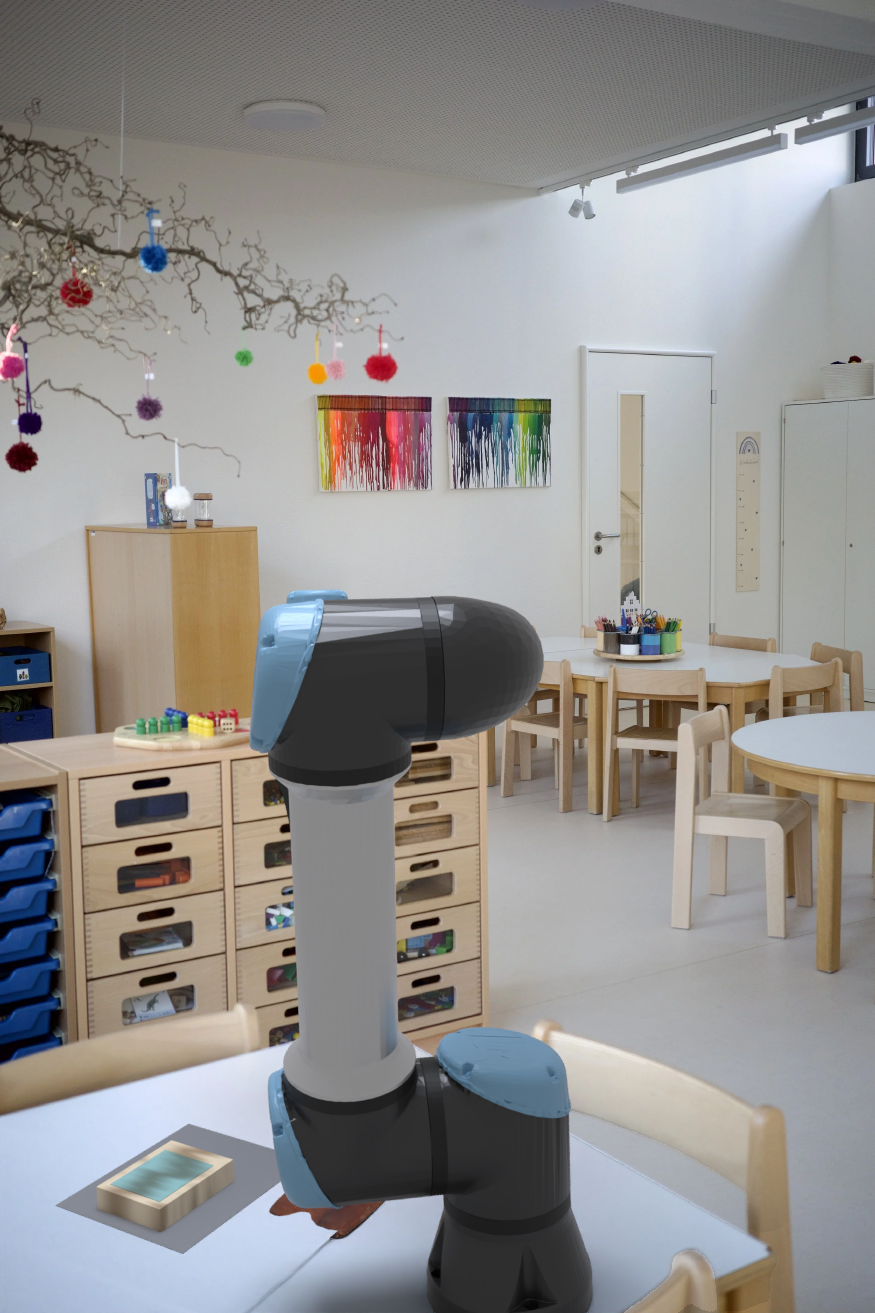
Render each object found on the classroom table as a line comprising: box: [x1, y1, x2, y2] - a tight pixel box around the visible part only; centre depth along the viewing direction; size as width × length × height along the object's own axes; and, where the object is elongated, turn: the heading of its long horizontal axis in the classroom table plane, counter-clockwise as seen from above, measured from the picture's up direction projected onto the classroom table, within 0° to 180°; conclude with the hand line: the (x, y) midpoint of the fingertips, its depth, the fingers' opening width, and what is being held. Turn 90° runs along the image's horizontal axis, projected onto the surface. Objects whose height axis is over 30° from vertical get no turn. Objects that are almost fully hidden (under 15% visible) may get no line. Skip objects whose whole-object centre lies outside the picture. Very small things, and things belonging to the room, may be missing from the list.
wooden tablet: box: [268, 1192, 385, 1240], centre depth 132 cm, size 27×10×2 cm, turn 153°
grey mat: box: [55, 1123, 281, 1255], centre depth 129 cm, size 18×20×1 cm
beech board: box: [96, 1140, 234, 1232], centre depth 127 cm, size 9×2×11 cm
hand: (326, 911), depth 145 cm, fingers closed
